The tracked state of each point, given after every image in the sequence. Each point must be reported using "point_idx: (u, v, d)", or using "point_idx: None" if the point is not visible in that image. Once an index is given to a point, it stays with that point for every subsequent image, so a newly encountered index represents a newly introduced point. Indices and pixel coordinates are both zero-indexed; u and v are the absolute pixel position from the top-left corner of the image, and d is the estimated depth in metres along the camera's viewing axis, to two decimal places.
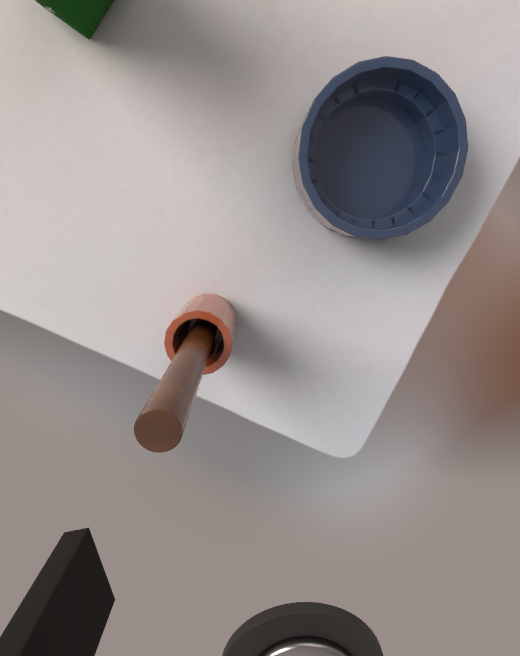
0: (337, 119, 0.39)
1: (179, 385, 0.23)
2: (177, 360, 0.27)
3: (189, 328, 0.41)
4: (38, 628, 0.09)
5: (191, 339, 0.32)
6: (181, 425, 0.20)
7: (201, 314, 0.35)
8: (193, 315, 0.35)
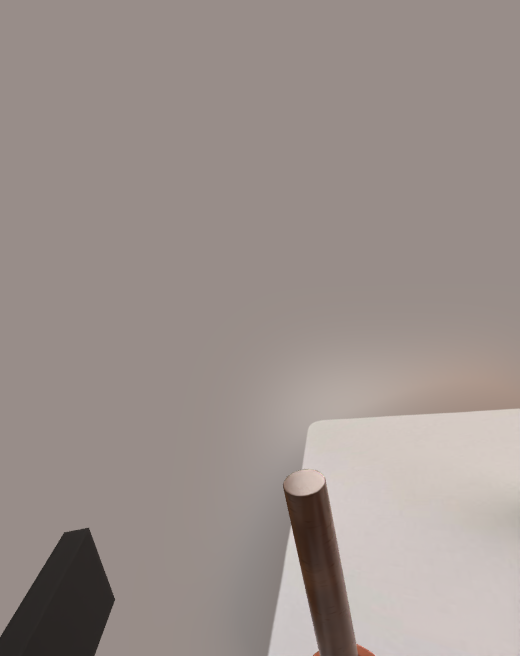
0: None
1: None
2: None
3: None
4: (38, 628, 0.09)
5: None
6: (316, 493, 0.22)
7: None
8: None
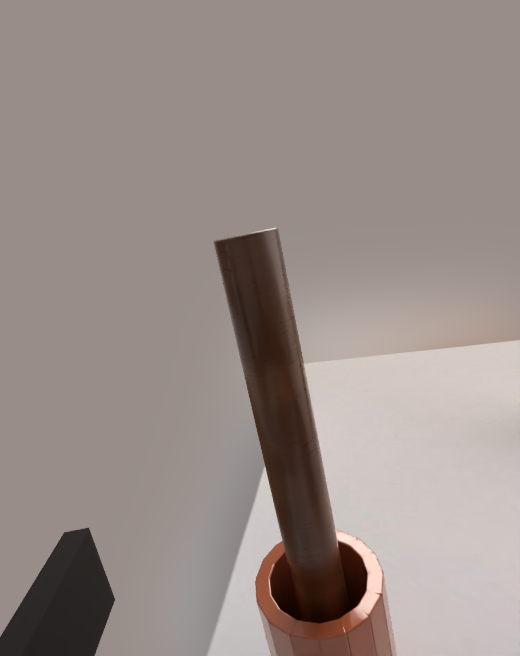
0: None
1: (294, 319, 0.15)
2: None
3: None
4: (38, 628, 0.09)
5: None
6: (260, 234, 0.14)
7: (371, 560, 0.19)
8: (362, 550, 0.19)
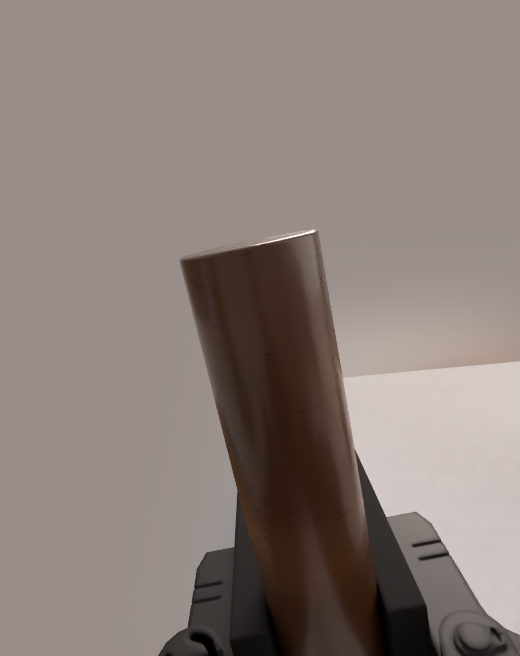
0: None
1: (348, 416, 0.07)
2: None
3: None
4: None
5: None
6: (283, 245, 0.06)
7: None
8: None
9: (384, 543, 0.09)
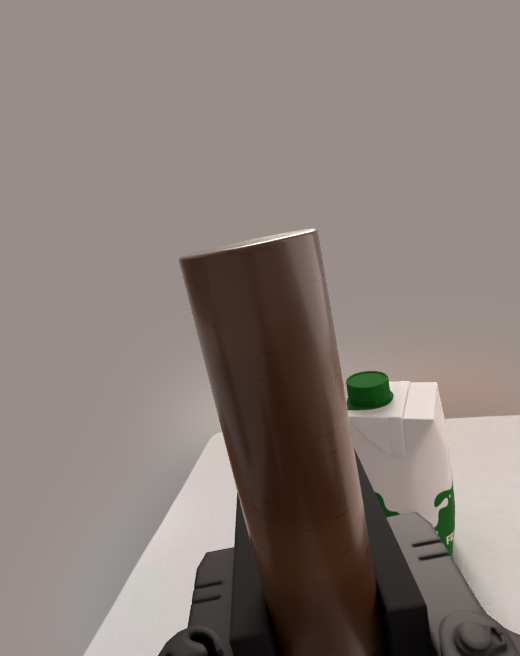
0: None
1: (348, 416, 0.07)
2: None
3: None
4: None
5: None
6: (282, 244, 0.06)
7: None
8: None
9: (384, 543, 0.09)
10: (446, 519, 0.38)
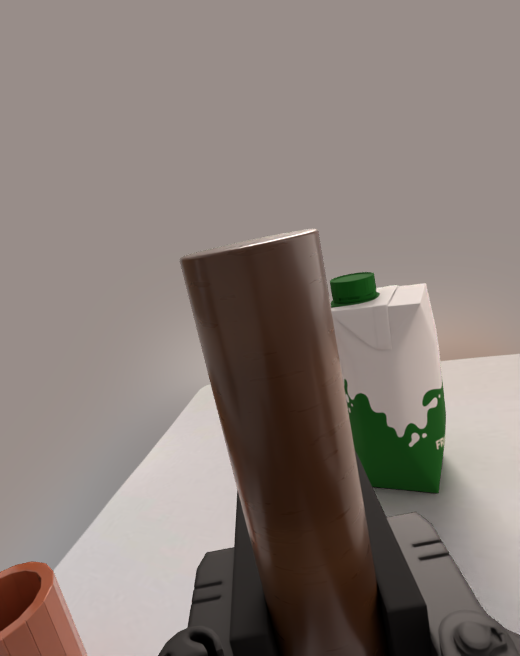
0: None
1: (348, 416, 0.07)
2: None
3: None
4: None
5: None
6: (283, 244, 0.06)
7: (44, 591, 0.23)
8: (46, 582, 0.24)
9: (384, 543, 0.09)
10: (436, 421, 0.36)
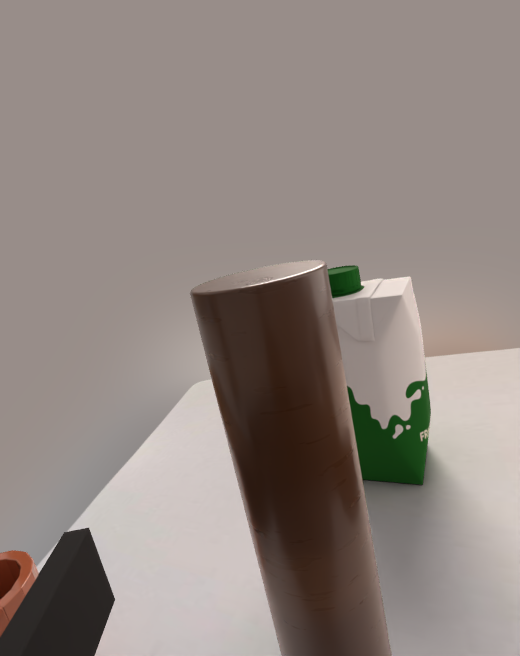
0: None
1: (356, 444, 0.08)
2: None
3: None
4: (38, 628, 0.09)
5: None
6: (293, 282, 0.06)
7: (22, 579, 0.23)
8: (24, 570, 0.24)
9: None
10: (420, 413, 0.36)
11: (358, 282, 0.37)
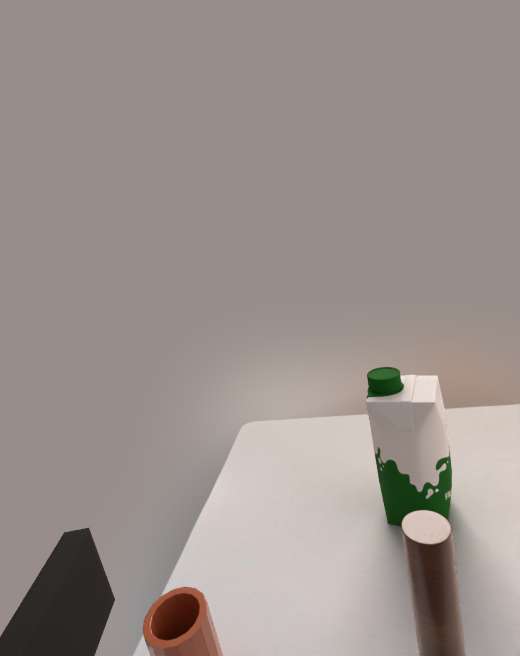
0: None
1: None
2: None
3: None
4: (38, 628, 0.09)
5: None
6: (445, 541, 0.20)
7: (203, 607, 0.37)
8: (202, 601, 0.37)
9: None
10: (445, 480, 0.50)
11: (400, 383, 0.50)
